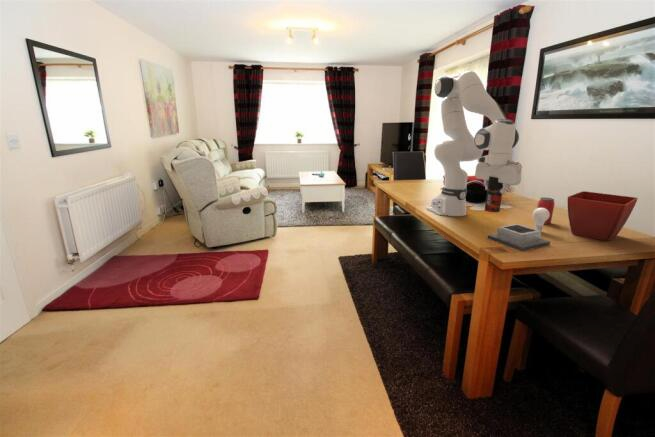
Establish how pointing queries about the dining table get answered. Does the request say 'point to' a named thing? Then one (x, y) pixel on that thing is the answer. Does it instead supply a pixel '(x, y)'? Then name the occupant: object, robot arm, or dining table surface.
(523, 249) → the collar holder
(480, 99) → the robot arm
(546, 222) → the beer can
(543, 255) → the dining table surface
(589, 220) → the plant pot
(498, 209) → the deodorant
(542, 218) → the lightbulb
